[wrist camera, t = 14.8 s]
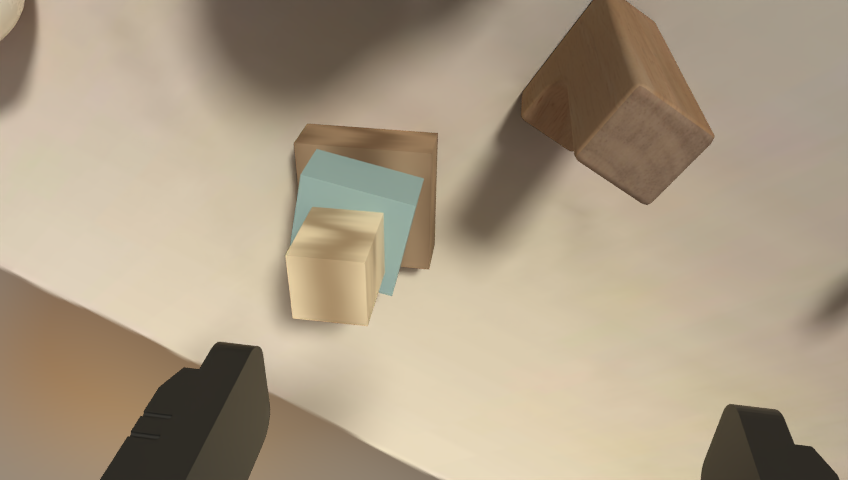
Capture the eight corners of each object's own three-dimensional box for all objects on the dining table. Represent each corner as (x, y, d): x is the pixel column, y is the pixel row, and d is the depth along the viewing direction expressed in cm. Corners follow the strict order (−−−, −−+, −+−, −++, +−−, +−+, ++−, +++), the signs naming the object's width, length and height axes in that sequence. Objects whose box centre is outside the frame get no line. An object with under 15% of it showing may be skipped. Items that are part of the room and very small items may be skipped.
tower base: (317, 231, 58) (304, 257, 54) (309, 121, 52) (293, 143, 49) (435, 241, 57) (428, 269, 53) (438, 130, 51) (431, 153, 48)
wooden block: (570, 128, 49) (585, 273, 34) (519, 93, 48) (512, 227, 33) (658, 23, 44) (720, 138, 30) (604, -17, 44) (639, 81, 29)
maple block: (317, 266, 50) (292, 318, 45) (312, 206, 47) (285, 255, 42) (384, 272, 49) (367, 326, 44) (383, 212, 46) (364, 262, 41)
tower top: (302, 238, 53) (286, 267, 50) (316, 148, 49) (300, 174, 46) (400, 265, 54) (391, 295, 50) (424, 178, 49) (415, 206, 46)
